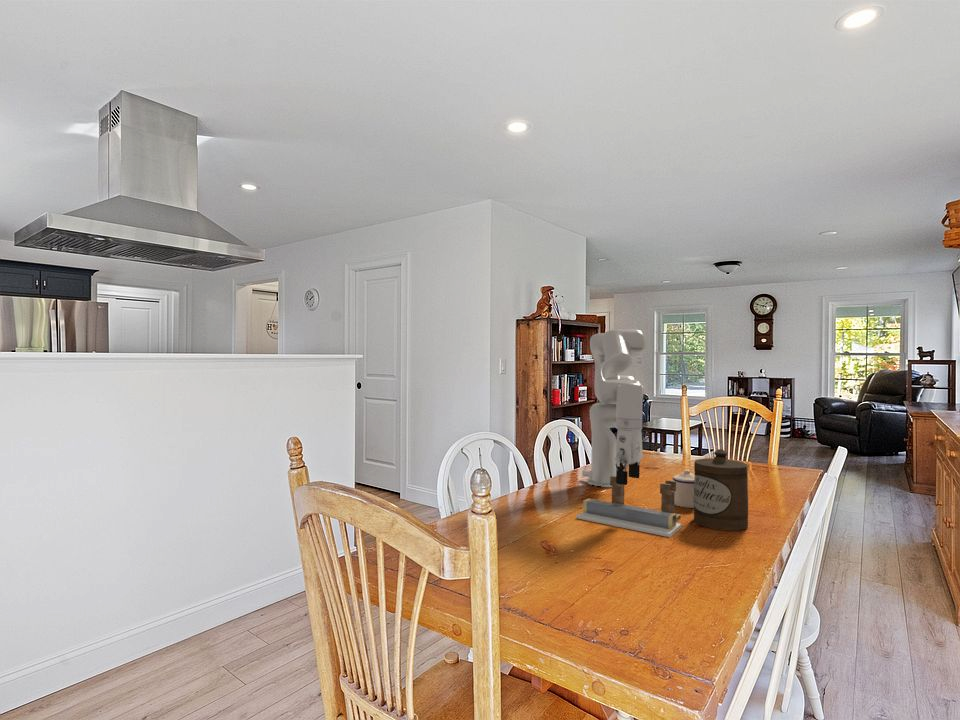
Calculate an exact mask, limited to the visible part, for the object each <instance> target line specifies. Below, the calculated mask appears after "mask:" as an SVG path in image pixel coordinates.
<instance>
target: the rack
mask: <svg viewBox="0 0 960 720" xmlns="http://www.w3.org/2000/svg"><path fill="white" fill-rule="evenodd" d="M610 486H612V487H611V503H617V504H622V505H625V485H622V484H617V483H616V476H610ZM673 491H674V492H673ZM675 491H676V481H673V480H669V479H666V480H665V483H663V482H660V483H659V494H661V505H660V506H661V507H660V508H661V509H660V511H662V512H668V513H673V514H676V522H677V521H678V520H680V519H681V517H682V516H681V515H682V514H679V513H675V504H674V494H675ZM627 505H628V506H630V505H629V504H627ZM633 506H634V505H633ZM634 507H636V506H634ZM638 507H639V508H642V507H640V506H638ZM644 508H645V507H644ZM645 509H647V508H645ZM650 509H651V508H650ZM651 510H653V509H651ZM655 510H656V511H659V510H657V509H655Z"/></svg>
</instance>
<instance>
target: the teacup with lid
mask: <svg viewBox="0 0 960 720" xmlns="http://www.w3.org/2000/svg"><path fill="white" fill-rule="evenodd" d="M694 480H695V473H692V472H691V470H690V469H684V470H683V472H681V473H679V474H675V475H673V477H672V481H676V491H675V494H674V506H677V507H679V506H680V508H684V507H685V509H694ZM672 492H674V491H672Z"/></svg>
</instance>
